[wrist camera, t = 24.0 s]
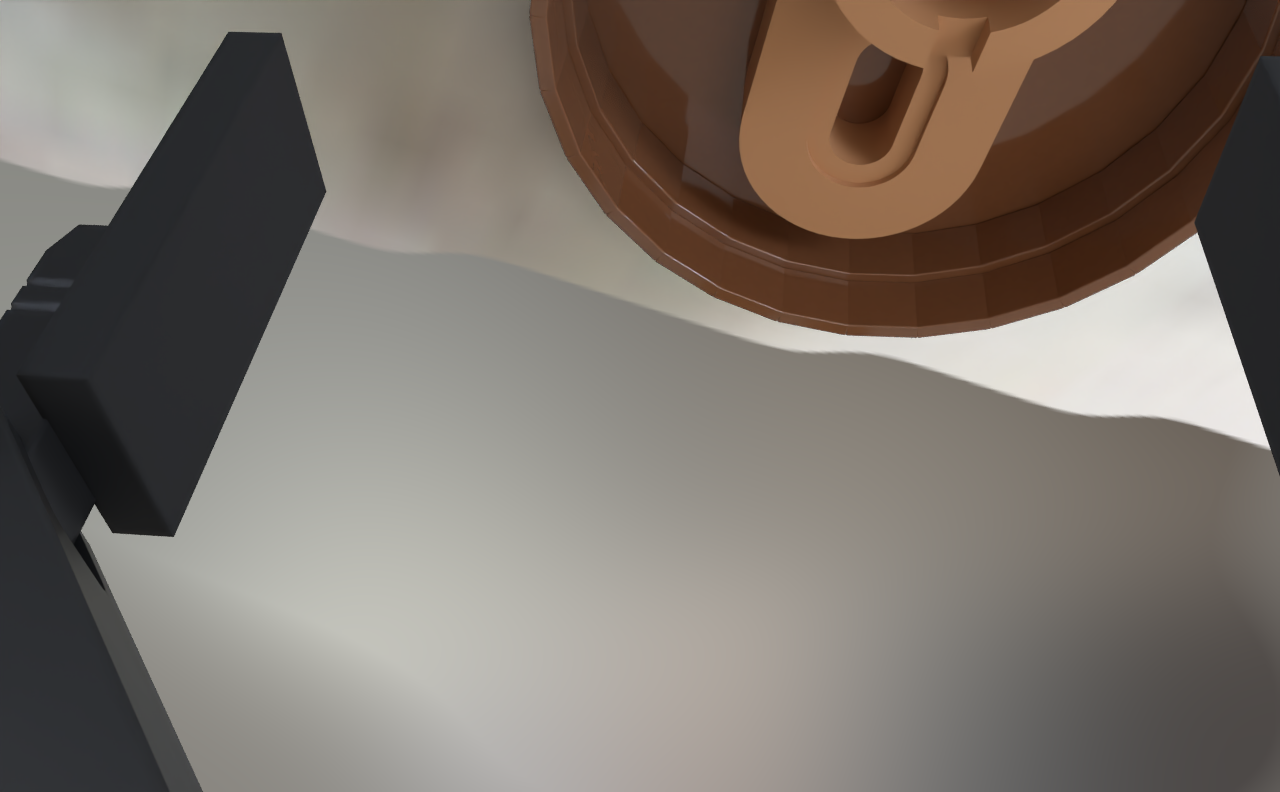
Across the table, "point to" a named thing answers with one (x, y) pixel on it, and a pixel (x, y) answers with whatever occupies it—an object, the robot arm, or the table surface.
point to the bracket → (917, 117)
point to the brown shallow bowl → (974, 224)
